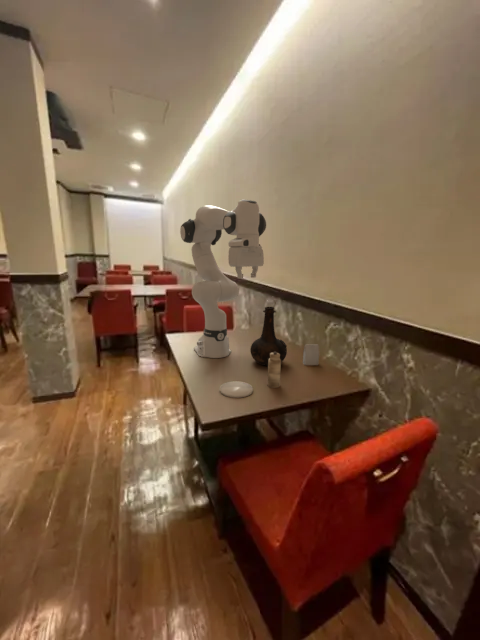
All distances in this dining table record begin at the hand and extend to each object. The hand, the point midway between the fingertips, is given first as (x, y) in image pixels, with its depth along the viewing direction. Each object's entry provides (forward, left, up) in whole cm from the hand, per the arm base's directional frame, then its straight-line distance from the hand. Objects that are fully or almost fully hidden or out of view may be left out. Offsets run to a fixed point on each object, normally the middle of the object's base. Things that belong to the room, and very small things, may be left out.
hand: (247, 278), depth 125 cm
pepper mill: (+12, +7, -43) cm, 45 cm away
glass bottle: (-11, +21, -43) cm, 49 cm away
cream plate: (+9, -9, -43) cm, 45 cm away
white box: (0, +39, -43) cm, 58 cm away
